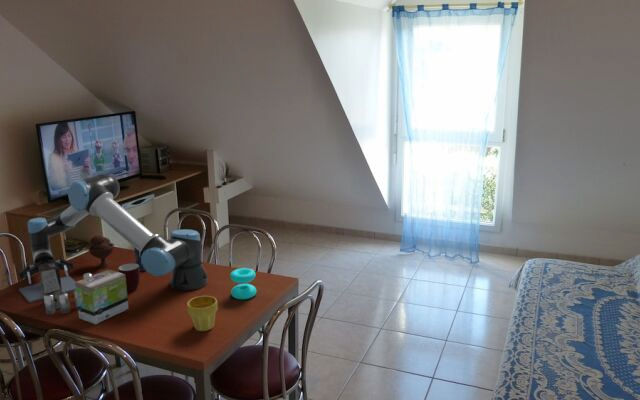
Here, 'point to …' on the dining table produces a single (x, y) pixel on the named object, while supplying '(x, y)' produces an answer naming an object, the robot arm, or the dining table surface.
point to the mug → (131, 275)
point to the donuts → (243, 289)
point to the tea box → (101, 296)
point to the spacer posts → (61, 300)
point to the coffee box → (51, 281)
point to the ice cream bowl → (101, 249)
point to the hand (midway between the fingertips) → (48, 277)
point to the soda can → (138, 259)
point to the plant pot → (203, 312)
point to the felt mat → (36, 293)
